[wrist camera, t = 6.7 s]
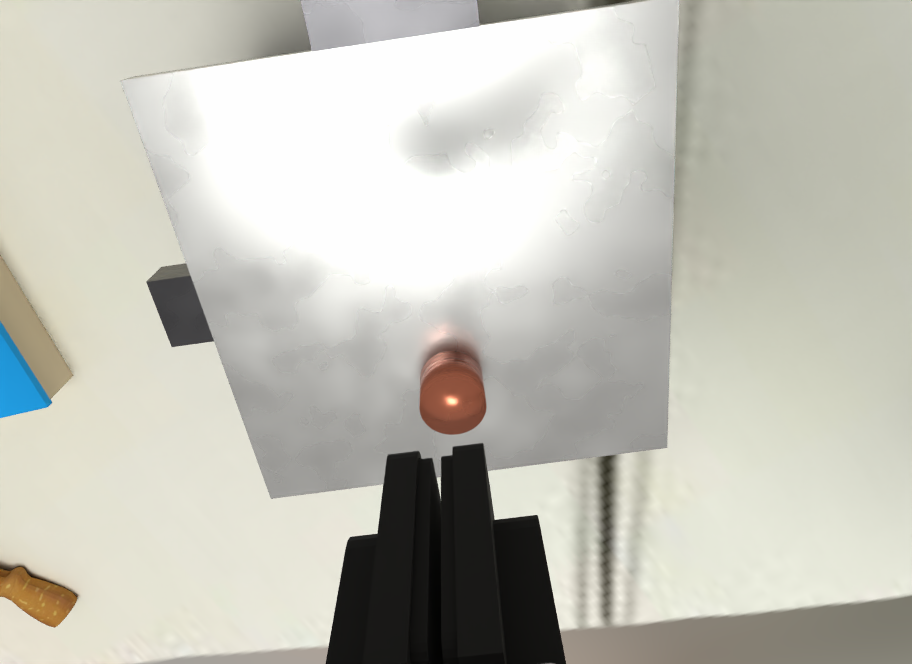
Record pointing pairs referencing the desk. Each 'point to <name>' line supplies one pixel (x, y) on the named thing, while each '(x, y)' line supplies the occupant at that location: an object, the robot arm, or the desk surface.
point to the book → (25, 353)
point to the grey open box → (179, 306)
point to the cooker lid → (431, 233)
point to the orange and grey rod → (36, 596)
